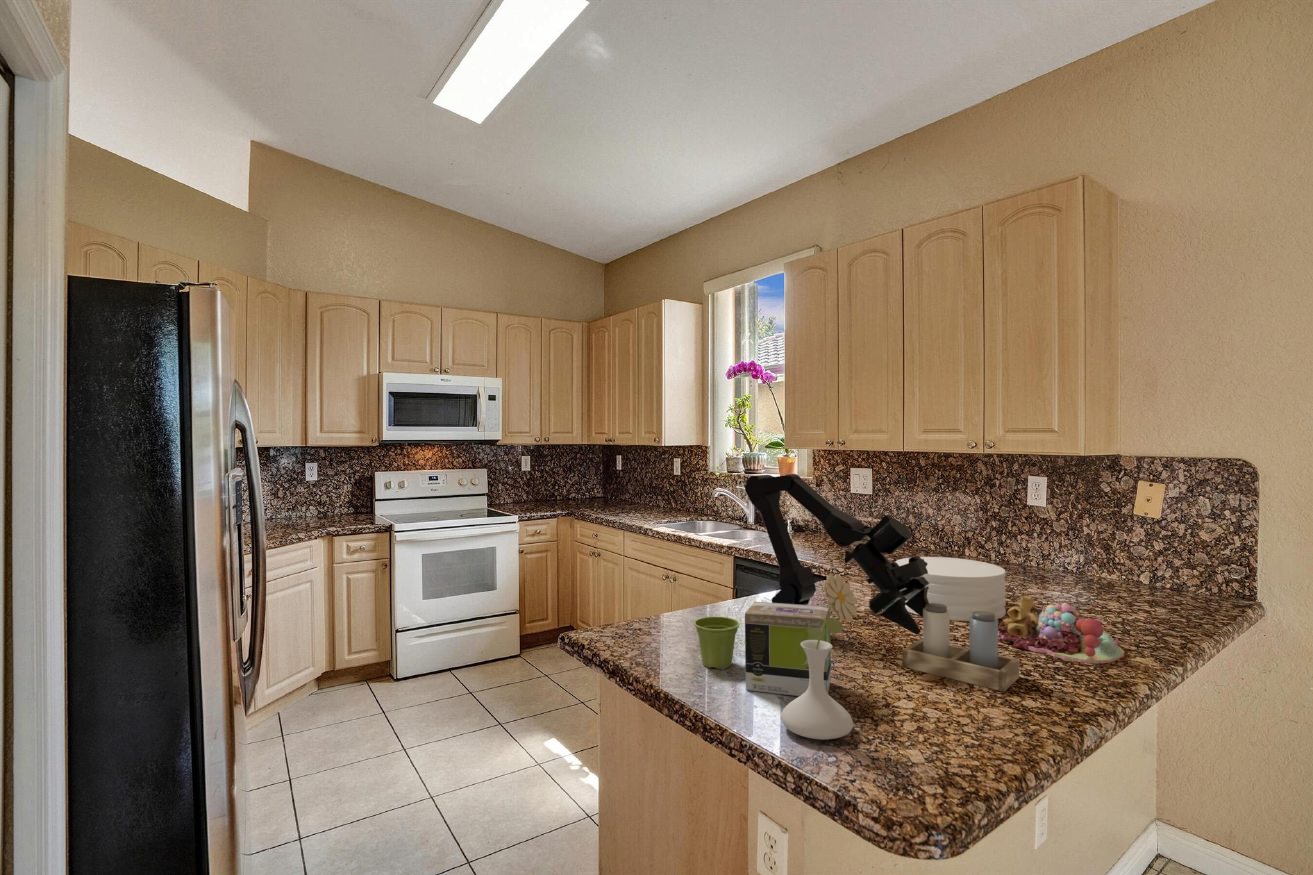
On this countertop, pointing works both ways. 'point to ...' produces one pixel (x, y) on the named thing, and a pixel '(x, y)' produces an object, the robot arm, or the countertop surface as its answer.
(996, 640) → the blue shaker
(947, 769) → the countertop surface
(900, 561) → the plate stack
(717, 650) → the plant pot
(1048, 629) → the multicoloured low bumpy piece
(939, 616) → the cylinder
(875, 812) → the countertop surface
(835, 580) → the flower in vase
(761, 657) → the tea box
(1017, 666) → the beech slot rack
